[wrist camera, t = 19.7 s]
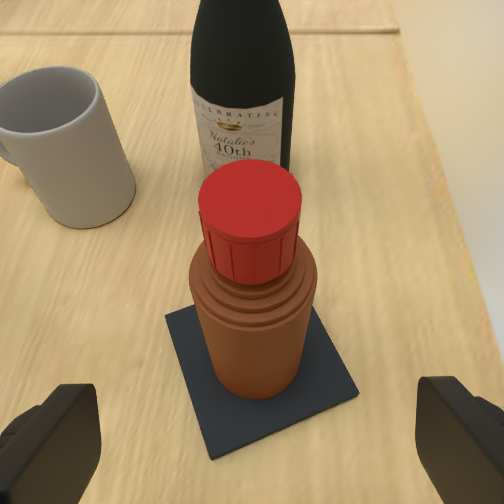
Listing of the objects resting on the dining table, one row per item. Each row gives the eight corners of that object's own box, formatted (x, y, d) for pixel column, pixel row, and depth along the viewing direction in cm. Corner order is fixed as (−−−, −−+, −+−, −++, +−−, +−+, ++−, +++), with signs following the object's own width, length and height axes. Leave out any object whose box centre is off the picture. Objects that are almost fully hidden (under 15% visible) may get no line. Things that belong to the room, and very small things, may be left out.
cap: (274, 202, 21) (276, 147, 18) (311, 266, 19) (320, 217, 16) (196, 227, 20) (185, 175, 17) (225, 298, 18) (218, 252, 15)
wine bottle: (276, 217, 39) (301, -340, 14) (195, 201, 40) (86, -336, 15) (295, 157, 43) (339, -354, 18) (221, 144, 45) (168, -350, 20)
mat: (292, 273, 36) (292, 268, 35) (357, 396, 30) (359, 392, 30) (166, 319, 34) (164, 314, 33) (211, 460, 28) (210, 459, 27)
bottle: (278, 304, 33) (289, 131, 19) (315, 379, 30) (362, 239, 16) (200, 333, 32) (151, 172, 18) (230, 415, 29) (198, 298, 15)
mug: (149, 169, 43) (118, 70, 34) (115, 237, 38) (68, 144, 29) (41, 152, 45) (-16, 54, 35) (-3, 215, 40) (-82, 120, 31)
